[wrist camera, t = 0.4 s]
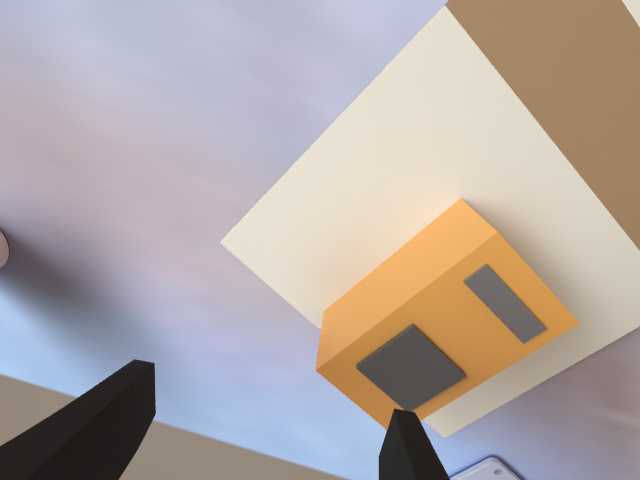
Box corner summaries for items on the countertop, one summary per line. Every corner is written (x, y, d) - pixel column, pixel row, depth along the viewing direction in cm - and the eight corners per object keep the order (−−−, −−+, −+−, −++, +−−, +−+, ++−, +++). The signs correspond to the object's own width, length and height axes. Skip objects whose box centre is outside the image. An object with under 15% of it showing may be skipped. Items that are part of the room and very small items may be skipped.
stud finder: (524, 269, 17) (584, 327, 13) (385, 366, 20) (395, 441, 16) (460, 198, 16) (501, 234, 12) (323, 311, 19) (315, 374, 15)
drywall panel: (866, 172, 15) (899, 177, 14) (440, 424, 23) (444, 438, 22) (650, -213, 12) (676, -240, 11) (226, 235, 19) (219, 242, 18)
